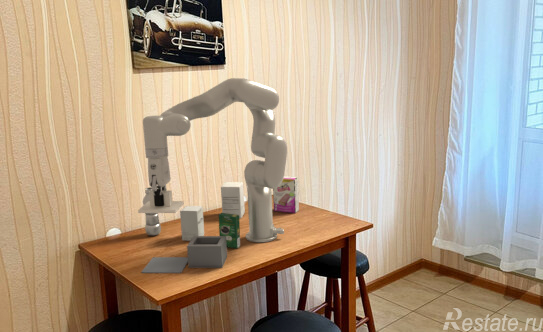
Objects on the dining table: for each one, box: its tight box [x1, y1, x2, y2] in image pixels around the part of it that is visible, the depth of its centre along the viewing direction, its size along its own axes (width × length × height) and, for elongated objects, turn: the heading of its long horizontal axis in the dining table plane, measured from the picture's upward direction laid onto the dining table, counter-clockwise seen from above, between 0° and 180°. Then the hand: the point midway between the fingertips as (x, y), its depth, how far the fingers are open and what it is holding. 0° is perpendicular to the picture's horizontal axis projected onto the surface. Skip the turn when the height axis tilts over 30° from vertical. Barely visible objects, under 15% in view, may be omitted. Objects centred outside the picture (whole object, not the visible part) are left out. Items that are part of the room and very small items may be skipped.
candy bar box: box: [272, 175, 300, 214], centre depth 239 cm, size 11×5×16 cm, turn 68°
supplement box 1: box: [179, 205, 205, 242], centre depth 208 cm, size 7×7×13 cm
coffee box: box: [218, 212, 241, 250], centre depth 197 cm, size 8×3×13 cm, turn 66°
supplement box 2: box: [220, 181, 246, 219], centre depth 235 cm, size 9×9×15 cm
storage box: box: [186, 235, 228, 269], centre depth 183 cm, size 12×10×8 cm
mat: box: [141, 256, 188, 274], centre depth 183 cm, size 14×13×1 cm
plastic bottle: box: [142, 186, 162, 236], centre depth 213 cm, size 6×7×20 cm
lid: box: [137, 190, 184, 214], centre depth 178 cm, size 13×11×6 cm
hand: (161, 203), depth 178 cm, fingers closed on lid, 3 cm apart
